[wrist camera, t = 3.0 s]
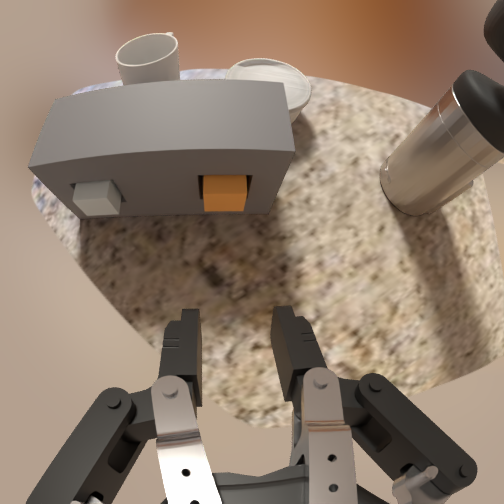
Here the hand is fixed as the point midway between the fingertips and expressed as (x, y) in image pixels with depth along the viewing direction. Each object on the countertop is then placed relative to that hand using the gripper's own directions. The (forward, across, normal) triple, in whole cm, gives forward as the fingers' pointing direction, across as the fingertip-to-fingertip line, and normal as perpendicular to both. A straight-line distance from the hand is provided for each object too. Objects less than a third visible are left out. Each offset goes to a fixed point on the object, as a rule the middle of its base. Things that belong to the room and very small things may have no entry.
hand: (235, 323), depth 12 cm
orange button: (+17, 0, 0) cm, 17 cm away
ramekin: (+32, -6, -8) cm, 33 cm away
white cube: (+17, +12, 0) cm, 21 cm away
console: (+23, +6, 0) cm, 23 cm away
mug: (+31, +8, -8) cm, 33 cm away
